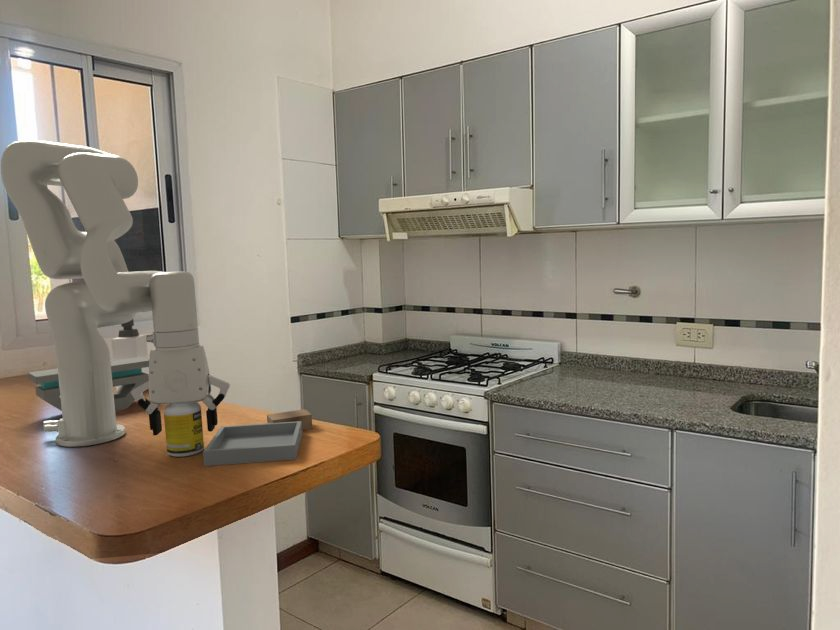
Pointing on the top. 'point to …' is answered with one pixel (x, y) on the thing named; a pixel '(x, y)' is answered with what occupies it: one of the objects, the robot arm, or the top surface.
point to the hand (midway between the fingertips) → (184, 431)
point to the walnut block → (292, 418)
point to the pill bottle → (183, 429)
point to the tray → (254, 443)
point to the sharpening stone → (123, 375)
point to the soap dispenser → (129, 345)
